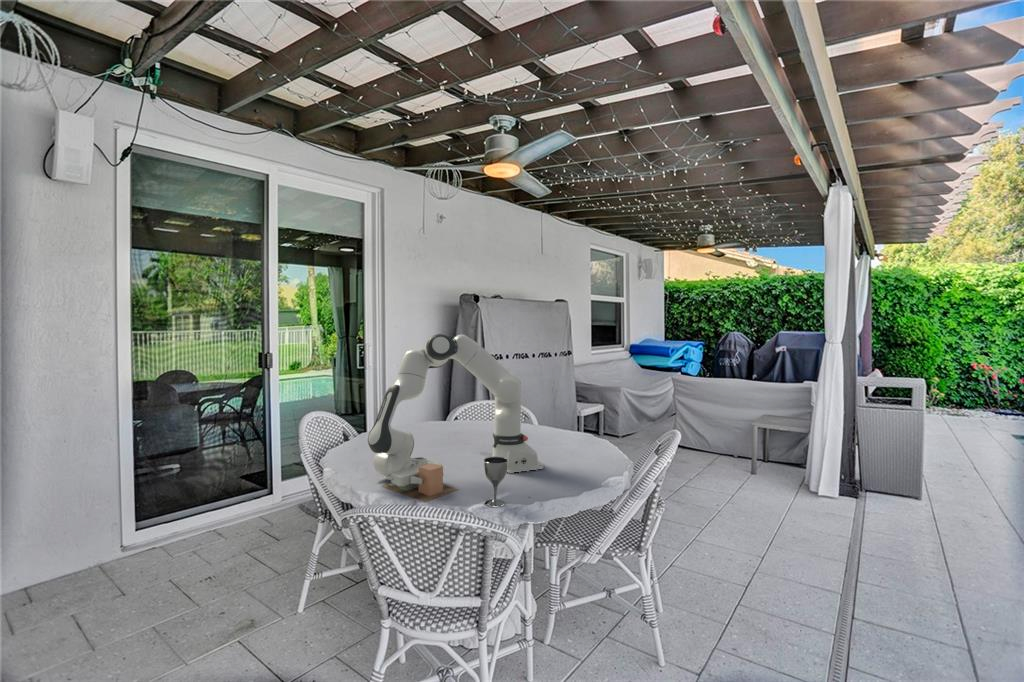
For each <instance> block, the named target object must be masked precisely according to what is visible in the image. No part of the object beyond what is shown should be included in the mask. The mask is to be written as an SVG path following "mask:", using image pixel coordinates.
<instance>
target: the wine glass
mask: <svg viewBox="0 0 1024 682" xmlns="http://www.w3.org/2000/svg"><path fill="white" fill-rule="evenodd" d="M507 465H508V460H507V459H506V458H504V457H492V456H487V457H485V458H484V459H483V467H484V474H485V477H486V479H487V480H488V481H489V482H490V483H491V485H492V488H493V499H494V500H493V499H489V500H486V501H484V505H485V504H487V505H490V506H501V505H503V504H505V503H506V502H505V501H504V500H502V499H497V492H498V486H499V484H501V482H502V481H503V480H505V477H506V475H507ZM501 500H502V501H501ZM503 501H504V502H505V503H504V502H503ZM505 505H506V504H505Z"/></svg>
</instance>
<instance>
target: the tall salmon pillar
mask: <svg viewBox="0 0 1024 682" xmlns="http://www.w3.org/2000/svg"><path fill="white" fill-rule="evenodd" d="M420 477H421V478H424V483H423V484H419V488H418V492H420V493H423V494H426V495H429V496H431V495H434V494H437V493H440V492H442V491H443V485H444V465H442V466H440V465H437V464H433V463H430V464H426V465H423V466H420V467H419V478H420Z"/></svg>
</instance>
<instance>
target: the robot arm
mask: <svg viewBox="0 0 1024 682" xmlns="http://www.w3.org/2000/svg"><path fill="white" fill-rule="evenodd" d="M449 360H455V361H456V362H458V363H460V365H462V366H463V367H464V368H465V369H466V370H467V371H469V372H470V374H472V375H473V376H474V377H475V378H477V379H478V380H479V382H480V383H481V384H482V385H483V386H484V387H485V388H486V389H487V390H488V391H490V393H491V394H492V395H493V396H494V415H493V416H494V417H493V433H492V455H491V457H504V458H506V459H507V460H508V465H507V472H508V474H515V473H514V472H519V473H522V472H521V471H527V472H530V471H529V470H535V469H541V468H543V469H544V464H543V462H542V461H540V460H539V457H538V454H537V453H538V452H536V451H537V450H535V449H534V448H533V447H532V446H530V445H529V444H528V443H527V441H528V440H529V437H528V436H527V435H525V434H523V433H522V432H521V426H522V425H521V423H522V421H521V420H522V416H521V415H522V413H521V412H522V408H521V407H522V406H521V405H522V404H521V403H522V382H521V380H520V378H519V376H518V375H516V374H515V373H513V372H509V371H508V370H507V369H506V368H505V366H503V365H502V364H501V363H500V362H499V361H498V360H497V359H496V358H495V357H494V356H493V355H492V354H491V353H489V352H488V351H487V350H486V349H485V348H484V347H482V346H481V345H480V343H478V342H476V341H475V340H474V339H472V338H470V337H469V336H467V335H466V334H462V333H461V334H457V335H456V336H454V337H453V336H449V335H446V334H443V333H437V334H434V335H431V336H430V337H429V338H428V340H427V341H426V342H425V344H424V347H423V349H420V350H418V349H411V350H407V351H406V352H405V353H404V355H403V357H402V359H401V362H400V365H399V369H398V373H397V376H396V380H395V382H394V383H393V384H392V385H390V386H389V387H388V389H387V390H386V392H385V394H384V397H383V399H382V402H381V405H380V407H379V411H378V413H377V416H376V419H375V422H374V424H373V426H372V427H371V430H370V431H369V433H368V436H367V444H368V446H369V448H370V450H371V451H372V452H373V453H376V454H375V456H374V457H373V460H372V466H373V469H374V470H375V472H377V473H378V474H379V475H381V476H383V477H385V478H386V479H387V480H388V481H390V483H393V484H395V485H397V486H401V487H402V486H406V485H409V484H417V483H418V484H423V483H424V478H421V477H420V478H419V467H420V466H423V465H426V464H430V463H433V464H437V465H440V466H443V464H442V463H440V462H439V461H435V460H431V459H427V457H424V456H421V457H411V455H412V454H413V452H414V451H413V450H414V447H415V439H414V437H413V434H412V433H411V432H409V431H406V430H402V429H397V428H394V427H393V428H392V425H391V423H392V421H393V419H394V415H395V412H396V410H397V407H398V405H399V404H400V403H402V402H403V401H408V400H413V399H416V398H418V397H419V396H420V395H421V394H422V393H423V392H424V389H425V385H426V379H427V373H428V370H429V369H436V368H437V369H438V368H441V367H443V366H444V365H445V364H446V363H447V362H448V361H449ZM507 472H506V473H507Z"/></svg>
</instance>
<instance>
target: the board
mask: <svg viewBox="0 0 1024 682" xmlns="http://www.w3.org/2000/svg"><path fill="white" fill-rule="evenodd" d="M380 487H381V488H384V489H387V490H389V491H393V492H395V493H398V494H401V495H403V496H407V497H409V498H412V499H415V500H418V501H420V502H423V503H426V502H429V501H432V500H436V499H437V498H438V499H439V498H440V497H443V496H445V495H448V494H452V493H454V492H456V491H459V489H458V488H454V487H452V486H448V485H445V484H443V491H442V492H440V493H437V494H434V495H431V496H429V495H426V494H423V493H420V492H418V488H419V484H418V483H417V484H409V485H406V486H402V487H401V486H397V485H395V484H393V483H392V482H390V483H385V484H382V485H380Z"/></svg>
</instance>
